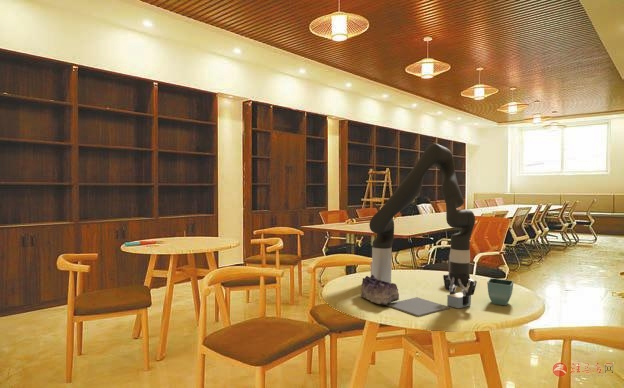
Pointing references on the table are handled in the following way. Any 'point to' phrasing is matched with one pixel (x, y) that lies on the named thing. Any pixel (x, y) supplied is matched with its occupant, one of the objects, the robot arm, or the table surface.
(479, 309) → the table surface
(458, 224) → the robot arm
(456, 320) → the table surface
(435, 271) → the table surface
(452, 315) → the table surface
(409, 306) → the rubber mat
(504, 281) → the flower pot
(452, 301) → the card box
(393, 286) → the geode
